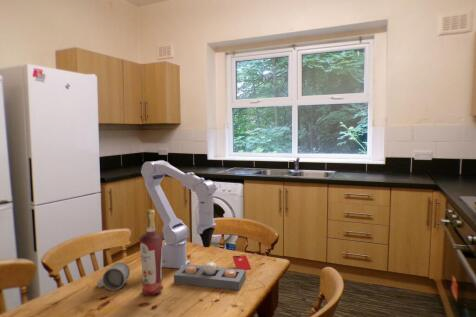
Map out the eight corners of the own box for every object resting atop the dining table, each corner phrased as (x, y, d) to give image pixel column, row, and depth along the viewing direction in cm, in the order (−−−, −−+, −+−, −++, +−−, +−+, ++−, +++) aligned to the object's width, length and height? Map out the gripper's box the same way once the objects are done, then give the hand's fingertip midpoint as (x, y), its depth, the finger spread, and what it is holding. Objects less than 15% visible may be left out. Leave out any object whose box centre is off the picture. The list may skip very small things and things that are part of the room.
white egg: (203, 274, 117) (202, 266, 117) (206, 269, 121) (206, 261, 121) (213, 275, 116) (213, 267, 116) (217, 270, 120) (217, 262, 120)
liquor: (168, 290, 112) (166, 209, 110) (152, 299, 105) (149, 214, 103) (153, 285, 116) (150, 207, 114) (136, 294, 109) (133, 211, 107)
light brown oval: (223, 282, 116) (223, 274, 116) (226, 277, 120) (226, 269, 119) (234, 283, 115) (234, 275, 115) (237, 278, 119) (236, 270, 118)
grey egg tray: (173, 283, 117) (173, 274, 117) (185, 271, 127) (185, 264, 127) (239, 290, 111) (238, 281, 111) (245, 277, 121) (245, 269, 121)
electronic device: (251, 270, 129) (245, 256, 144) (251, 268, 129) (245, 255, 144) (236, 271, 128) (232, 257, 143) (236, 269, 128) (232, 256, 143)
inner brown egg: (183, 278, 120) (183, 270, 119) (188, 273, 123) (187, 265, 123) (194, 279, 119) (193, 271, 118) (198, 274, 122) (197, 266, 122)
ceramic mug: (131, 279, 121) (130, 259, 120) (125, 290, 112) (124, 268, 112) (101, 281, 120) (100, 260, 119) (93, 291, 112) (92, 269, 111)
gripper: (209, 217, 119) (209, 254, 119) (221, 208, 132) (222, 241, 133) (191, 216, 120) (191, 252, 121) (205, 207, 134) (205, 240, 135)
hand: (206, 246), depth 127 cm, fingers closed
